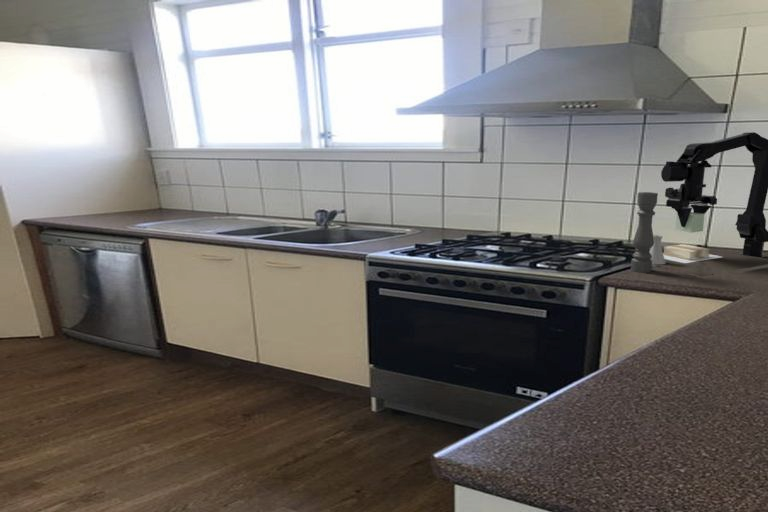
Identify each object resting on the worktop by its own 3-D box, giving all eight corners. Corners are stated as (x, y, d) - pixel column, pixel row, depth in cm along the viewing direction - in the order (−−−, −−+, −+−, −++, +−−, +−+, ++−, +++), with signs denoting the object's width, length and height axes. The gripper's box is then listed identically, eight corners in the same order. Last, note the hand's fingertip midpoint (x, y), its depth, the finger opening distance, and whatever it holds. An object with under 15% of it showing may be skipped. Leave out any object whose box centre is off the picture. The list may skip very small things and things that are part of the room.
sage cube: (686, 228, 195) (688, 211, 194) (702, 231, 190) (704, 213, 188) (675, 230, 192) (676, 213, 191) (691, 232, 187) (692, 215, 186)
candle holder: (655, 270, 177) (663, 193, 172) (643, 273, 174) (650, 194, 169) (638, 267, 182) (645, 191, 177) (626, 269, 179) (632, 192, 174)
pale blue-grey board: (686, 252, 203) (686, 249, 203) (723, 259, 191) (723, 256, 191) (648, 258, 195) (648, 255, 195) (684, 266, 183) (684, 263, 183)
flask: (670, 267, 182) (673, 237, 179) (648, 267, 182) (651, 237, 180) (660, 262, 189) (663, 233, 186) (639, 262, 189) (641, 234, 187)
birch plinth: (682, 252, 199) (683, 244, 199) (708, 257, 191) (709, 248, 190) (663, 255, 195) (664, 246, 195) (689, 260, 186) (690, 251, 186)
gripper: (690, 178, 198) (686, 221, 202) (654, 180, 191) (650, 225, 194) (720, 180, 188) (715, 225, 192) (683, 183, 181) (679, 229, 184)
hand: (689, 226), depth 191 cm, fingers closed on sage cube, 6 cm apart
